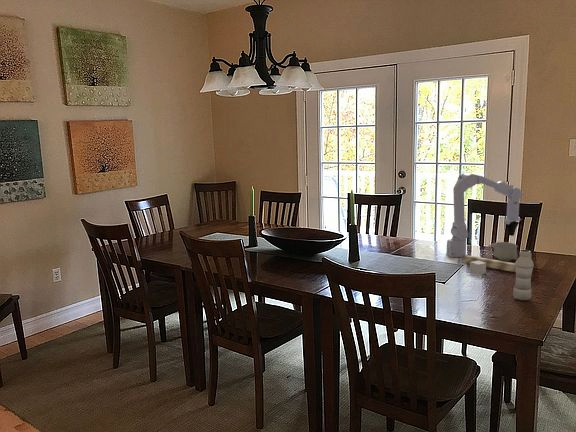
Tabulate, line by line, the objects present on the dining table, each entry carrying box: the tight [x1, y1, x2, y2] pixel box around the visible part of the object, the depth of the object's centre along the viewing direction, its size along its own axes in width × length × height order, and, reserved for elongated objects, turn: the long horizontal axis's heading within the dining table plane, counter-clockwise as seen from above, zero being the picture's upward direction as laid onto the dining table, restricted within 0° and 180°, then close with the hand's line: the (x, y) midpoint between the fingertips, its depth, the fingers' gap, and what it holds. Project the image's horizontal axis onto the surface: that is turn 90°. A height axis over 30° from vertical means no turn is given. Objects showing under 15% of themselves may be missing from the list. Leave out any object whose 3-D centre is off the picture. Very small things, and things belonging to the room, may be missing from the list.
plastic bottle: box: [512, 249, 535, 301], centre depth 188 cm, size 6×7×20 cm
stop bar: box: [461, 254, 516, 273], centre depth 234 cm, size 26×2×4 cm, turn 46°
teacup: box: [487, 241, 518, 262], centre depth 246 cm, size 14×11×8 cm
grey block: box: [469, 261, 487, 276], centre depth 225 cm, size 5×5×5 cm
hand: (511, 235), depth 253 cm, fingers closed
